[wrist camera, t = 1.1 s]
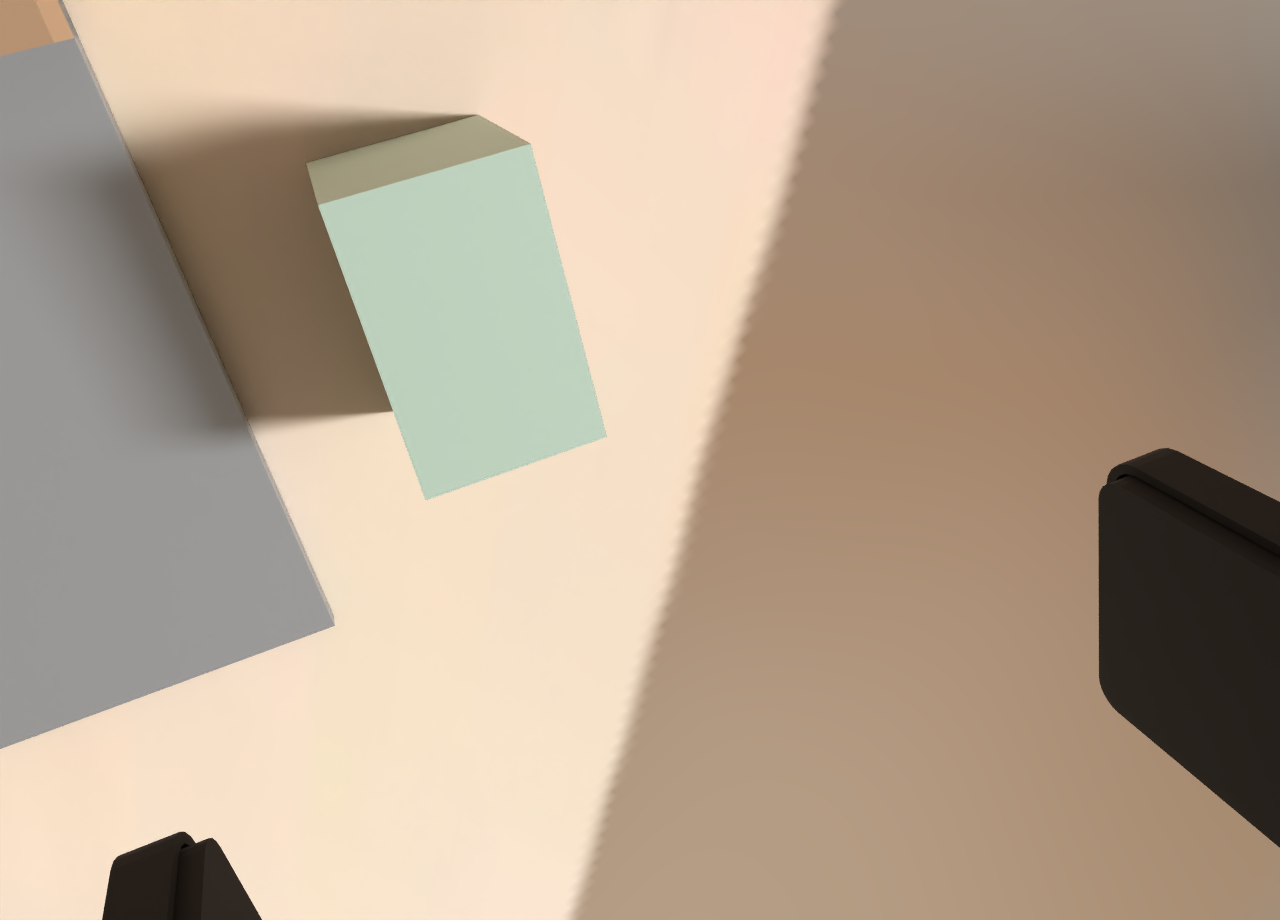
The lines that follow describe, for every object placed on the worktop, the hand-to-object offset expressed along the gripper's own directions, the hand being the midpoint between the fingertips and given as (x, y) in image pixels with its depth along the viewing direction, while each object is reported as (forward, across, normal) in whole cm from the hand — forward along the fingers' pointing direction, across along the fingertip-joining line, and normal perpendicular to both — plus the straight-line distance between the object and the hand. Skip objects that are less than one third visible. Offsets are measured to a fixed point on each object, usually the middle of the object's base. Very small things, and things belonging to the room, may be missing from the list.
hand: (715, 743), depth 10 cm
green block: (+20, 0, 0) cm, 20 cm away
